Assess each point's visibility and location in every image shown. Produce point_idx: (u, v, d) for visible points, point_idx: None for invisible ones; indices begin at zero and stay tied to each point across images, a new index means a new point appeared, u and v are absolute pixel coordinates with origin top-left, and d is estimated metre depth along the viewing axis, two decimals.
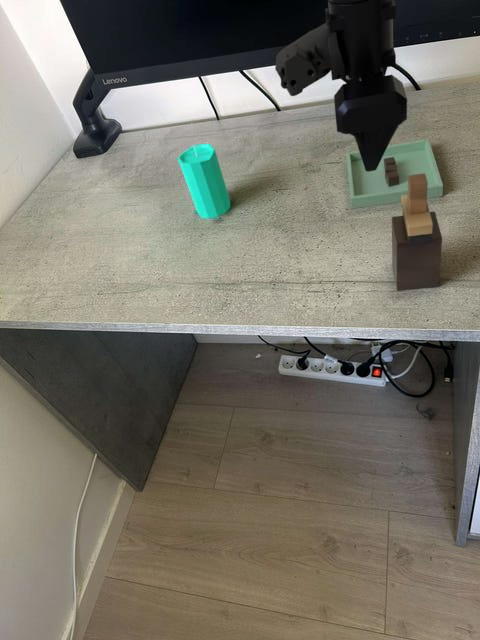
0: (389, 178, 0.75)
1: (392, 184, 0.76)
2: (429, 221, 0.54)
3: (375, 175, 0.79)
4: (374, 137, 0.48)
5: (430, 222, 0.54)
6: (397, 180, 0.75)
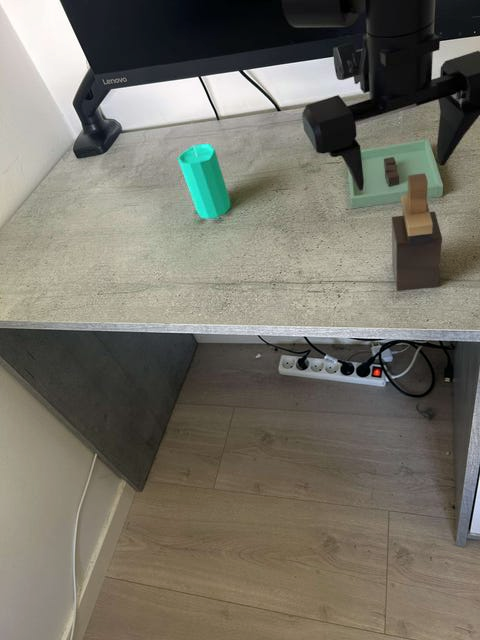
0: (389, 178, 0.75)
1: (392, 184, 0.76)
2: (429, 221, 0.54)
3: (375, 175, 0.79)
4: None
5: (430, 222, 0.54)
6: (397, 180, 0.75)
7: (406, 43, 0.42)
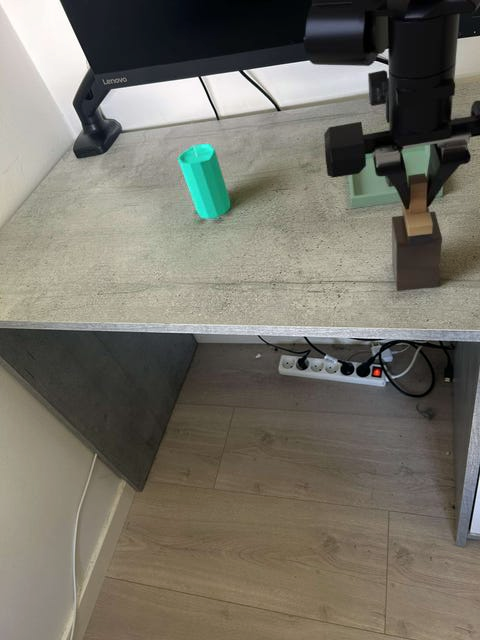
0: None
1: (392, 184, 0.76)
2: (429, 221, 0.54)
3: (375, 175, 0.79)
4: None
5: (430, 222, 0.54)
6: None
7: (420, 86, 0.43)
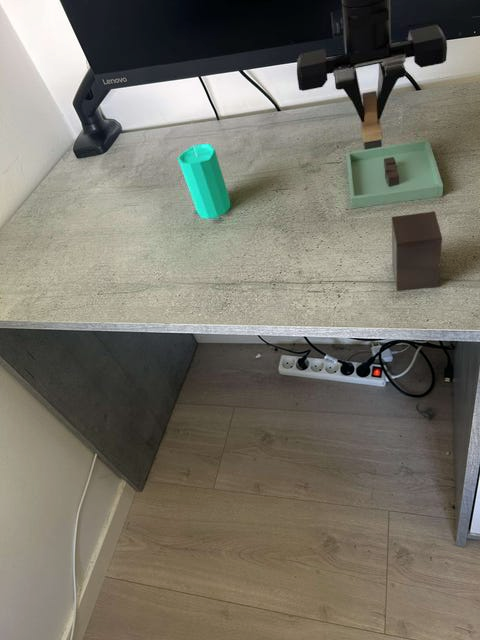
0: (389, 178, 0.75)
1: (392, 184, 0.76)
2: (379, 129, 0.69)
3: (375, 175, 0.79)
4: None
5: (380, 129, 0.69)
6: (397, 180, 0.75)
7: (363, 13, 0.58)
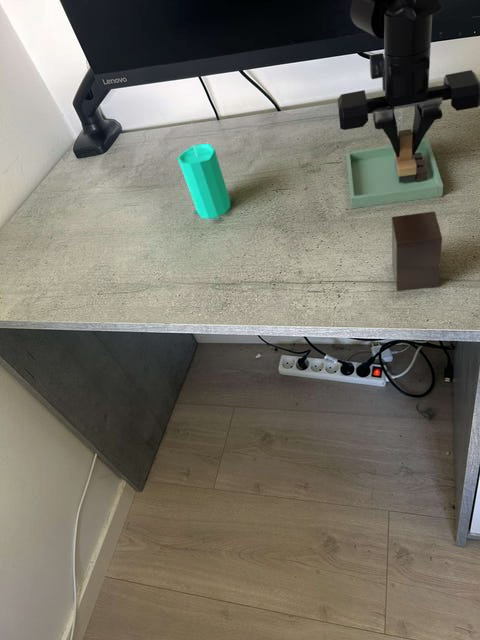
0: (417, 173, 0.74)
1: (420, 180, 0.75)
2: (414, 164, 0.73)
3: (375, 175, 0.79)
4: None
5: (414, 165, 0.73)
6: (425, 176, 0.74)
7: (406, 62, 0.62)
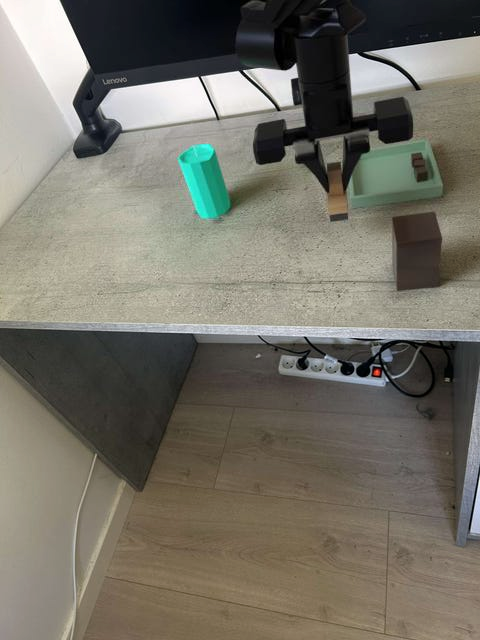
0: (418, 173, 0.74)
1: (420, 180, 0.75)
2: (345, 202, 0.64)
3: (375, 175, 0.79)
4: None
5: (345, 203, 0.64)
6: (426, 176, 0.74)
7: (320, 90, 0.53)
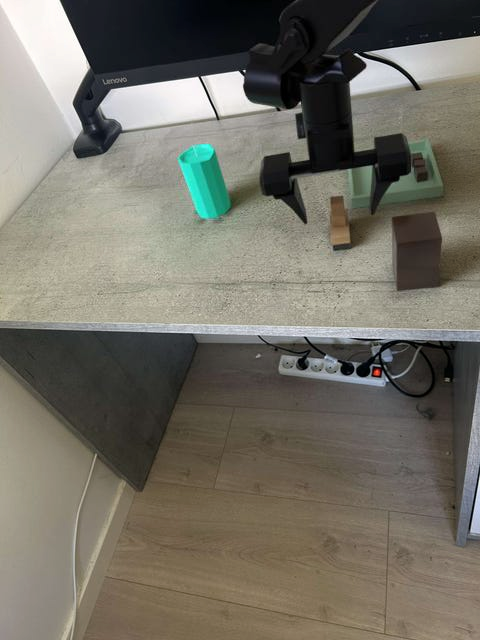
0: (418, 173, 0.74)
1: (420, 180, 0.75)
2: (347, 233, 0.68)
3: None
4: None
5: (348, 234, 0.68)
6: (426, 176, 0.74)
7: (323, 129, 0.57)
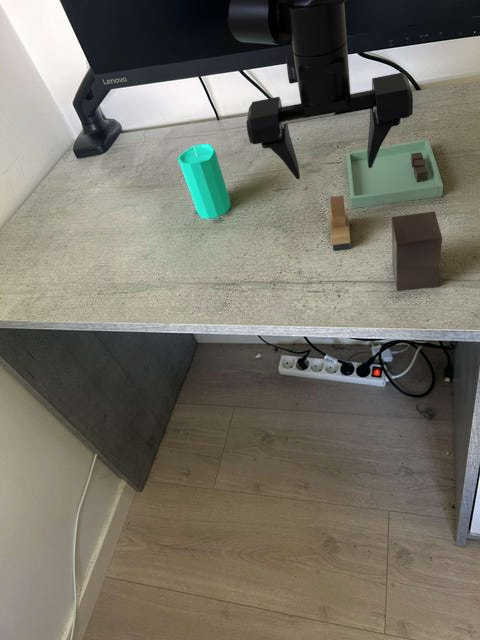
0: (418, 173, 0.74)
1: (420, 180, 0.75)
2: (347, 233, 0.68)
3: (375, 175, 0.79)
4: None
5: (348, 234, 0.68)
6: (426, 176, 0.74)
7: (316, 63, 0.51)
